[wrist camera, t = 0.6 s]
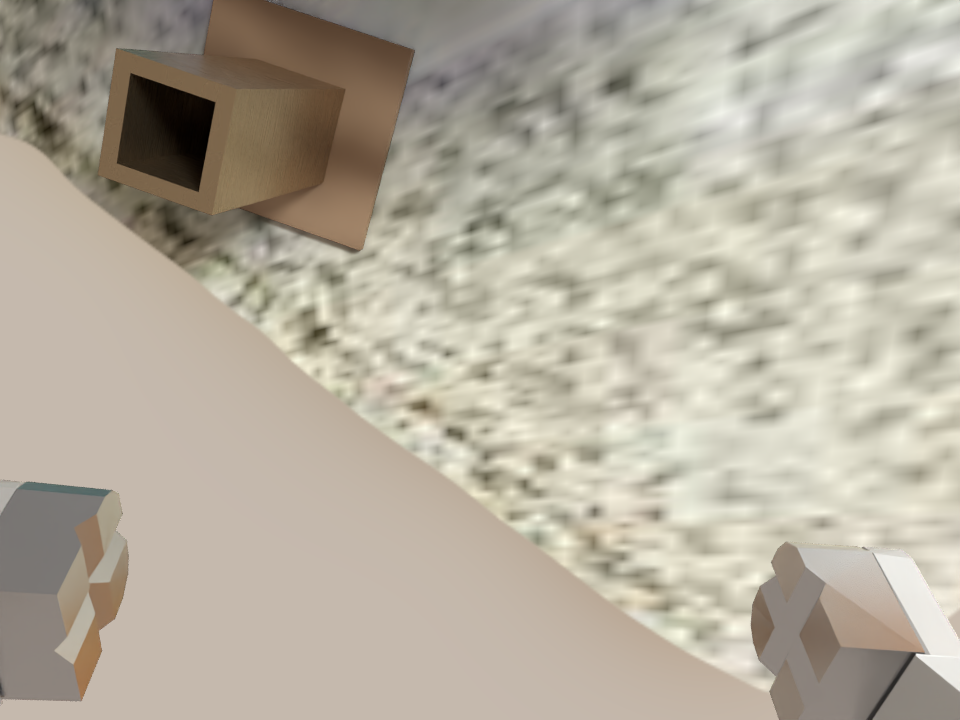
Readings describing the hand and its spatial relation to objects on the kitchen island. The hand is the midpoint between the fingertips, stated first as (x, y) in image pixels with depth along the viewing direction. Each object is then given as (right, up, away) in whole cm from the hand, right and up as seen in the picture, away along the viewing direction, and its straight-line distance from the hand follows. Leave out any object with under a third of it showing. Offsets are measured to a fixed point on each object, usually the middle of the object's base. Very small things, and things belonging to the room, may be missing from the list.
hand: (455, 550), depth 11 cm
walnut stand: (-11, +17, +40) cm, 45 cm away
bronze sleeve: (-11, +16, +40) cm, 44 cm away
